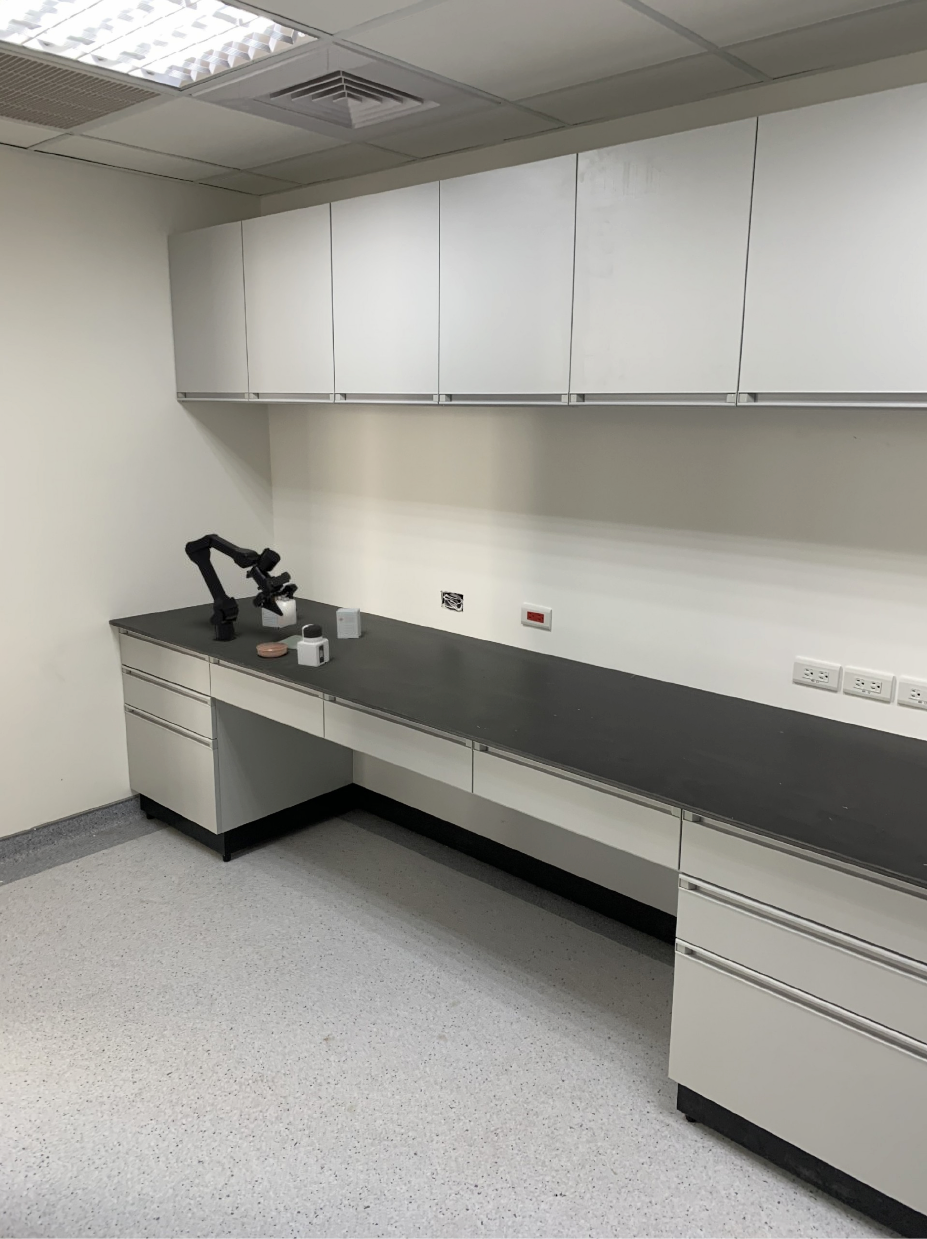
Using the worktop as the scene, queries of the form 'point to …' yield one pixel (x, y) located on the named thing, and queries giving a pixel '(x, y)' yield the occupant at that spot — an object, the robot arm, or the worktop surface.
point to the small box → (348, 623)
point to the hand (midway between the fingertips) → (289, 613)
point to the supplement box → (272, 614)
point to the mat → (293, 641)
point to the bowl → (272, 649)
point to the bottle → (287, 611)
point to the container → (312, 647)
